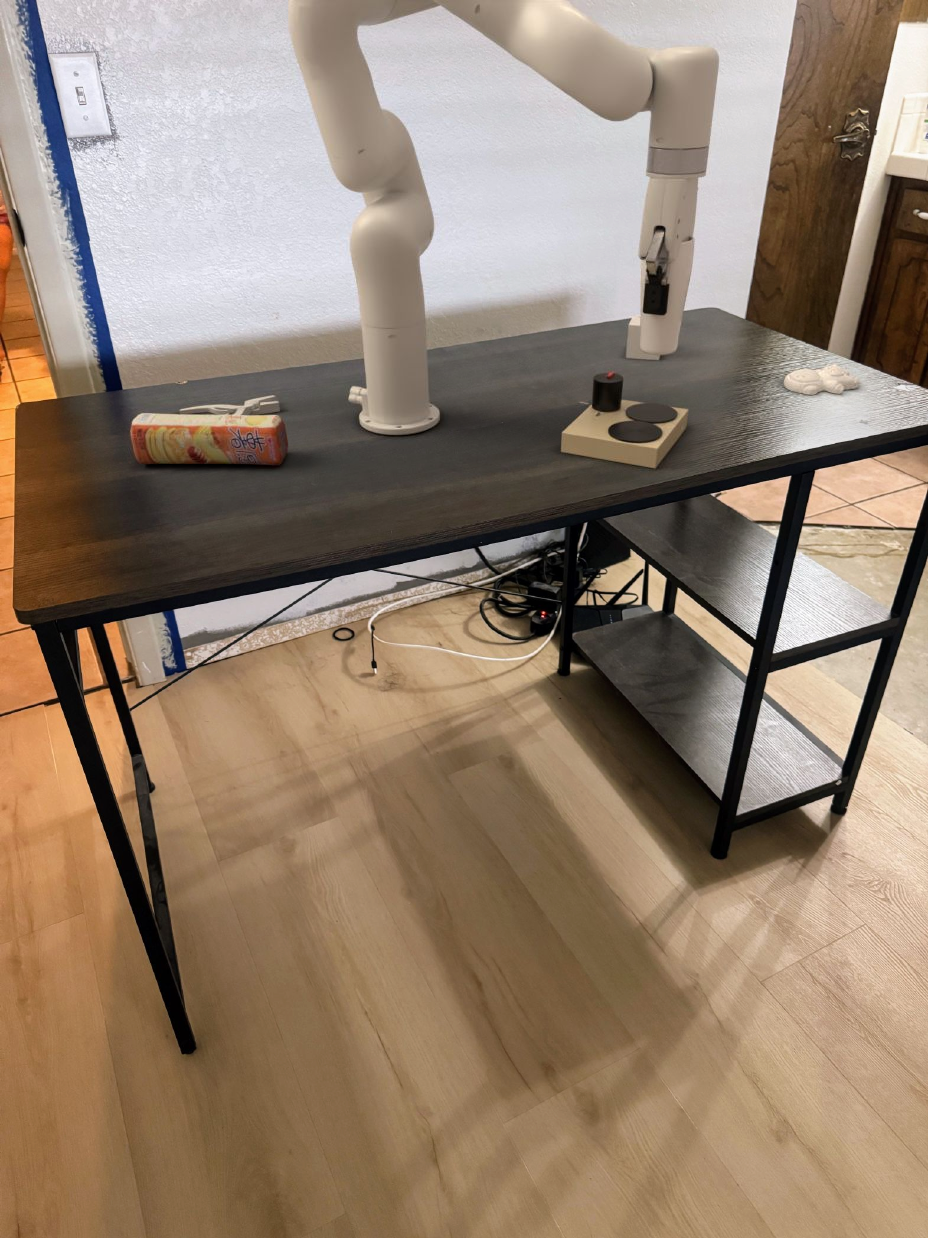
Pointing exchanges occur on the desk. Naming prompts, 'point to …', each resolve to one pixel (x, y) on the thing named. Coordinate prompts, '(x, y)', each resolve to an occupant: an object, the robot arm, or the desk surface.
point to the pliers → (239, 407)
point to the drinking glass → (664, 330)
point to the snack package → (209, 439)
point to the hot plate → (595, 441)
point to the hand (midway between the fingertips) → (662, 305)
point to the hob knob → (607, 392)
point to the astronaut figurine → (820, 380)
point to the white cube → (636, 342)
